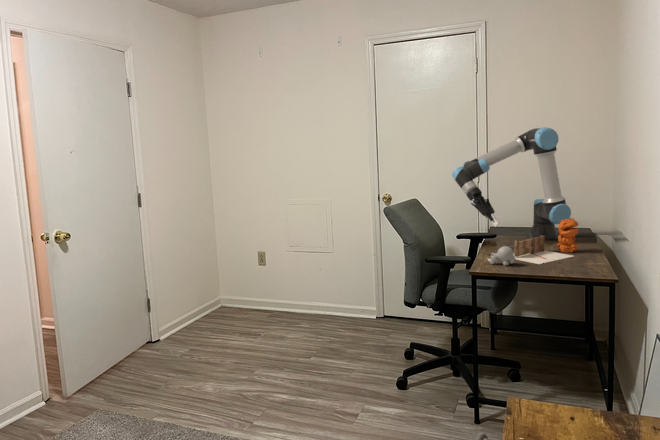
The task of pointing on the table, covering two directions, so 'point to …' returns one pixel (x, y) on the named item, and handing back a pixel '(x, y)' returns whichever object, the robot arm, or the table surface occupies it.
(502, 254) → the toy rhinoceros
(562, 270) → the table surface
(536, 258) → the card
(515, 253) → the fence gate
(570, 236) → the toy dinosaur
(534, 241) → the fence fixed
